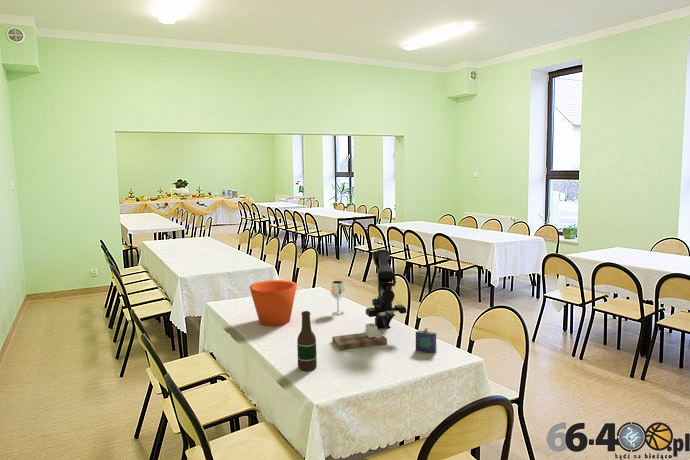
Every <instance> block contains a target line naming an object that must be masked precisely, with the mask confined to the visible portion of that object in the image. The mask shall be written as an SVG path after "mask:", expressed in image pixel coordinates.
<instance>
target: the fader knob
mask: <svg viewBox="0 0 690 460" xmlns="http://www.w3.org/2000/svg"><path fill="white" fill-rule="evenodd" d="M377 331H378V328H377V326H376V325H375V322H373V323H365V333H366V335H367V336H368V337H369V338H371V337H377Z"/></svg>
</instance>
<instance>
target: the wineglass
mask: <svg viewBox="0 0 690 460" xmlns="http://www.w3.org/2000/svg"><path fill="white" fill-rule="evenodd" d="M345 294H346V289H345V285H344V282H343V281H341V280H335V281H332V283H331V286H330V295H331V296H332V298H333V299H335V300H336V305H337V306H336V308H337V309H336V310H337V311H333V312H332V315H333V316H342V315H345V313H344V311H341V310H340V309H339V308H340V306H339V304H340V303H339V301H340V300H341V299H342V298H343V297H344V296H345Z"/></svg>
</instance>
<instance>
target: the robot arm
mask: <svg viewBox="0 0 690 460" xmlns="http://www.w3.org/2000/svg"><path fill="white" fill-rule="evenodd" d="M390 258H391V257H390V251H389V250H388V249H385V248H383V249H381V248H379V249H377V250H375V251H372V260H373V264H374V266H375V267H376V271H377V272H376V273H377V274H376V275H377V298H372V300H371V301H372V307H367V308H366V309H365V315H366V316H367V317H369V318H373V317H375V318H374V324H375V325H376V326H377V330H383V329H389V328H391V325H390V324H391V321H392V319H394V317H395V316H396V314H395V312H398V313H399V314H400V315H401V314H406V313H407V307H406V306H404V305H402V304H395V305H394V307H393V302H394V299H395V293H394V290H393V287H395V286H396V283H397V280H396V279H397V278H396V273H395V272H393V268H392V267H391V266H390V265H389V260H390Z"/></svg>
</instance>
